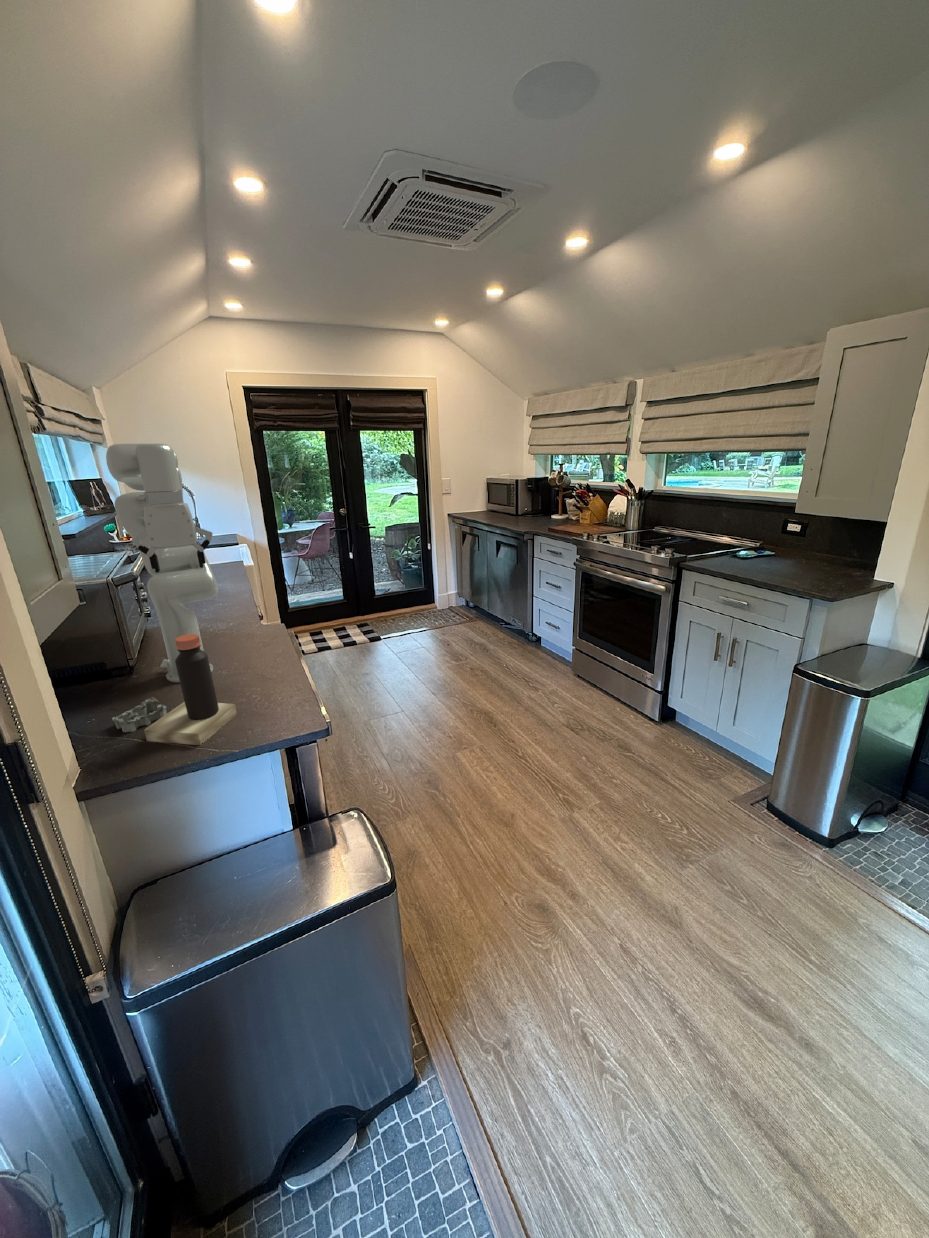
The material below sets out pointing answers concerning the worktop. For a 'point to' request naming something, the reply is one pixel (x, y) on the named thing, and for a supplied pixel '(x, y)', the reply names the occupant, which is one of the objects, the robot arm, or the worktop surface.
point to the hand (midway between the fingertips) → (180, 569)
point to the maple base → (188, 726)
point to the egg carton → (140, 715)
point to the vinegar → (195, 678)
